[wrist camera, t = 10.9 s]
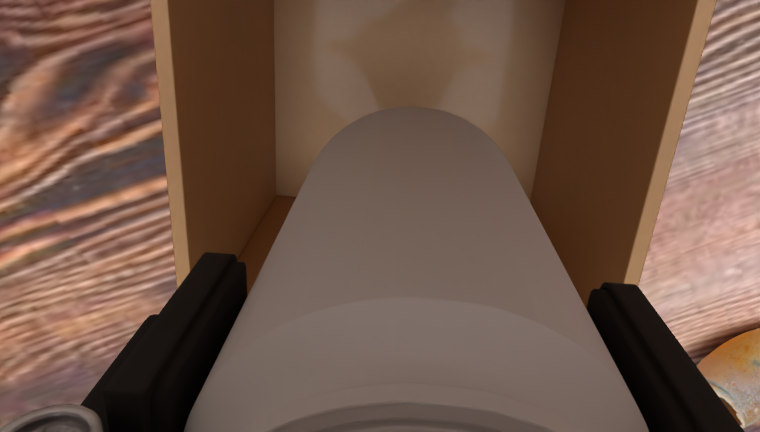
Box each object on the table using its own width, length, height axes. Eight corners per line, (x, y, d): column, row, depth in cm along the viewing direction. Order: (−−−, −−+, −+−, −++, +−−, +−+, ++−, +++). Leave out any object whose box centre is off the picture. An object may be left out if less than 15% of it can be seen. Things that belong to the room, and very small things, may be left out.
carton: (264, -53, 27) (141, -81, 14) (579, -33, 27) (729, -44, 14) (269, 199, 32) (181, 339, 20) (533, 218, 32) (614, 373, 19)
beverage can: (470, 63, 16) (617, 278, 5) (542, 252, 18) (759, 704, 7) (271, 151, 17) (11, 484, 6) (361, 317, 19) (295, 787, 8)
